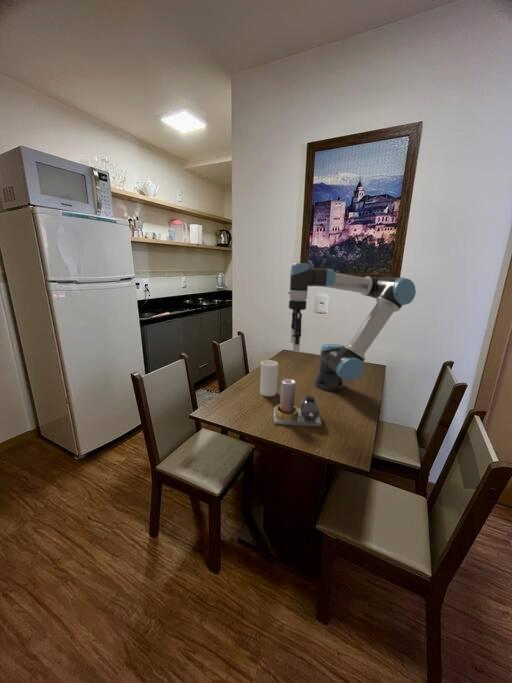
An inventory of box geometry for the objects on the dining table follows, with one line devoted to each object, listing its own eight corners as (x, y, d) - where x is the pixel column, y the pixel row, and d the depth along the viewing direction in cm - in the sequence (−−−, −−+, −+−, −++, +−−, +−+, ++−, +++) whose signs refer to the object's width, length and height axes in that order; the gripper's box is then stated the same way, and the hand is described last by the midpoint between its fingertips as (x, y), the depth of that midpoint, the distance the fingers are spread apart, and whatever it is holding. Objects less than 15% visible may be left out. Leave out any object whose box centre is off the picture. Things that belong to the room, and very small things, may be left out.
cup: (278, 391, 142) (280, 361, 138) (272, 397, 135) (274, 366, 130) (263, 388, 145) (265, 359, 141) (257, 394, 138) (258, 364, 134)
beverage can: (278, 410, 120) (280, 378, 116) (291, 410, 120) (294, 378, 116) (280, 418, 114) (282, 384, 110) (294, 417, 114) (297, 384, 110)
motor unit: (316, 412, 122) (318, 391, 119) (321, 427, 111) (323, 404, 108) (273, 410, 123) (274, 389, 120) (274, 425, 111) (275, 402, 109)
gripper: (287, 296, 132) (284, 339, 138) (291, 303, 108) (288, 354, 114) (303, 297, 132) (300, 340, 137) (310, 304, 108) (306, 355, 113)
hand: (294, 346), depth 126 cm, fingers open, 13 cm apart
